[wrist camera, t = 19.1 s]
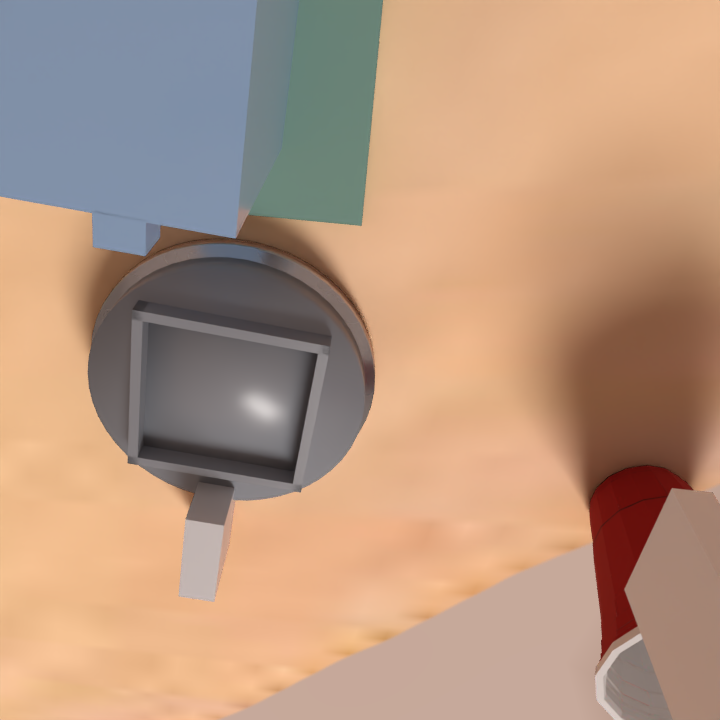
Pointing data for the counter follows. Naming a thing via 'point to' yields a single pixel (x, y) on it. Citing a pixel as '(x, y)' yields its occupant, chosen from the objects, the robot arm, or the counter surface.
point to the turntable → (226, 392)
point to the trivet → (326, 115)
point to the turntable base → (267, 257)
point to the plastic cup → (613, 569)
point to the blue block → (144, 110)
